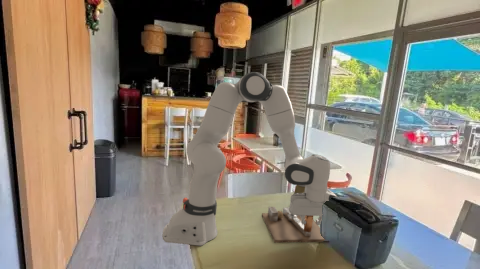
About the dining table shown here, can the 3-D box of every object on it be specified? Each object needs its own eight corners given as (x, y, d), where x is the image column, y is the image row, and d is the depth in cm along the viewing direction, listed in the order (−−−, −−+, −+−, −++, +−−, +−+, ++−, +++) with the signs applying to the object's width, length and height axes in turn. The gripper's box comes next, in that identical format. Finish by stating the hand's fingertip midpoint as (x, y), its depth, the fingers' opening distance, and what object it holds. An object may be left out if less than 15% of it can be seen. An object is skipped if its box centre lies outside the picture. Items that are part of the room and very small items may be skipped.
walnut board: (274, 242, 108) (275, 230, 107) (261, 215, 130) (262, 204, 129) (329, 241, 112) (331, 229, 111) (307, 215, 134) (309, 205, 133)
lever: (304, 237, 111) (307, 217, 109) (281, 213, 131) (283, 196, 130) (313, 236, 112) (316, 216, 111) (289, 212, 133) (291, 195, 131)
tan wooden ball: (276, 220, 124) (277, 213, 124) (274, 216, 128) (275, 209, 127) (283, 220, 125) (284, 213, 124) (281, 216, 128) (282, 209, 128)
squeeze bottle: (310, 209, 142) (314, 177, 138) (299, 212, 137) (303, 179, 134) (299, 203, 148) (302, 172, 145) (288, 205, 144) (292, 174, 140)
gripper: (294, 195, 105) (289, 227, 108) (341, 197, 108) (336, 228, 111) (289, 189, 111) (285, 220, 114) (334, 191, 114) (329, 220, 117)
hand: (310, 224), depth 112 cm, fingers open, 5 cm apart
